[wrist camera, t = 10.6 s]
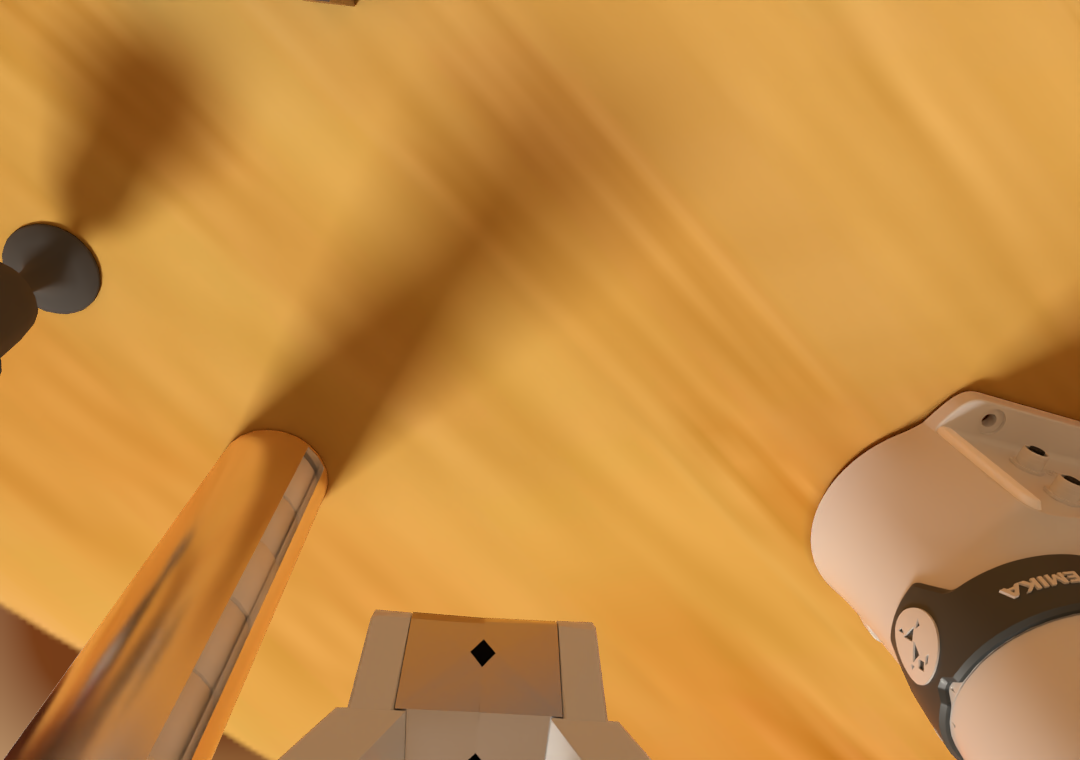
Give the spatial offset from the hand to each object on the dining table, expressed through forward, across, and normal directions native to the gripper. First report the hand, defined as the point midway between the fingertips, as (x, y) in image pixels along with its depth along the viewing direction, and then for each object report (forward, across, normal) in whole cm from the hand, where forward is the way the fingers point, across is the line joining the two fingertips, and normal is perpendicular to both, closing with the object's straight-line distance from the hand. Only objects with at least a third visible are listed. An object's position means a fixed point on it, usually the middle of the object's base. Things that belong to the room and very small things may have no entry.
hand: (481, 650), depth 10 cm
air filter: (+31, +13, +18) cm, 38 cm away
